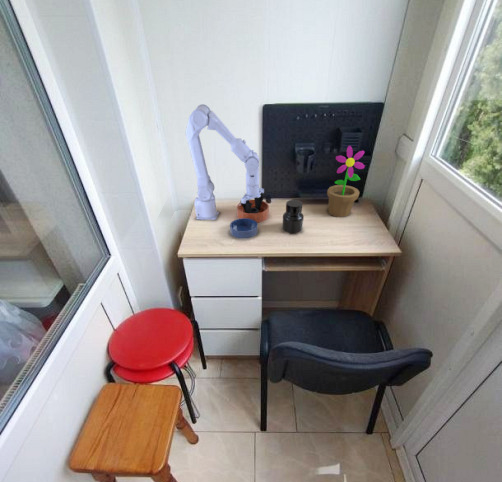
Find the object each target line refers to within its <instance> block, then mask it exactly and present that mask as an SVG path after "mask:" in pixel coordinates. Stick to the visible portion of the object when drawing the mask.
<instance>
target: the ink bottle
mask: <svg viewBox="0 0 502 482" xmlns="http://www.w3.org/2000/svg"><path fill="white" fill-rule="evenodd" d="M303 206H304V205H303V202H302V201H301V200H298V199H289V200H286V203H285V212H284V213H283V214H282V223H281V224H282V225H281V228H282V229H281V230H283V232H285V233H288V234H299V233H300V232H302V230H303V225H304V217H305V216H304V214H303V213H302V212H303Z"/></svg>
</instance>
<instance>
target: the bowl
mask: <svg viewBox="0 0 502 482" xmlns="http://www.w3.org/2000/svg"><path fill="white" fill-rule="evenodd" d="M249 202H250V203H253V204H252V206H251V208H255V200H254V199H250V200H249ZM236 216H237V219H240V218H248V219H252V220H255V221H256V222H257V224H258V223H263V222H265V221H266V220H267V219H268V218H269V216H270V205H269V203H268V202H266V201H264V200H263V201H262V204H261V208H260V210H258V213H254V214H251V213H245V211H244V208H243V206H242V205H241V203H240V202H238V204H237V205H236Z"/></svg>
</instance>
